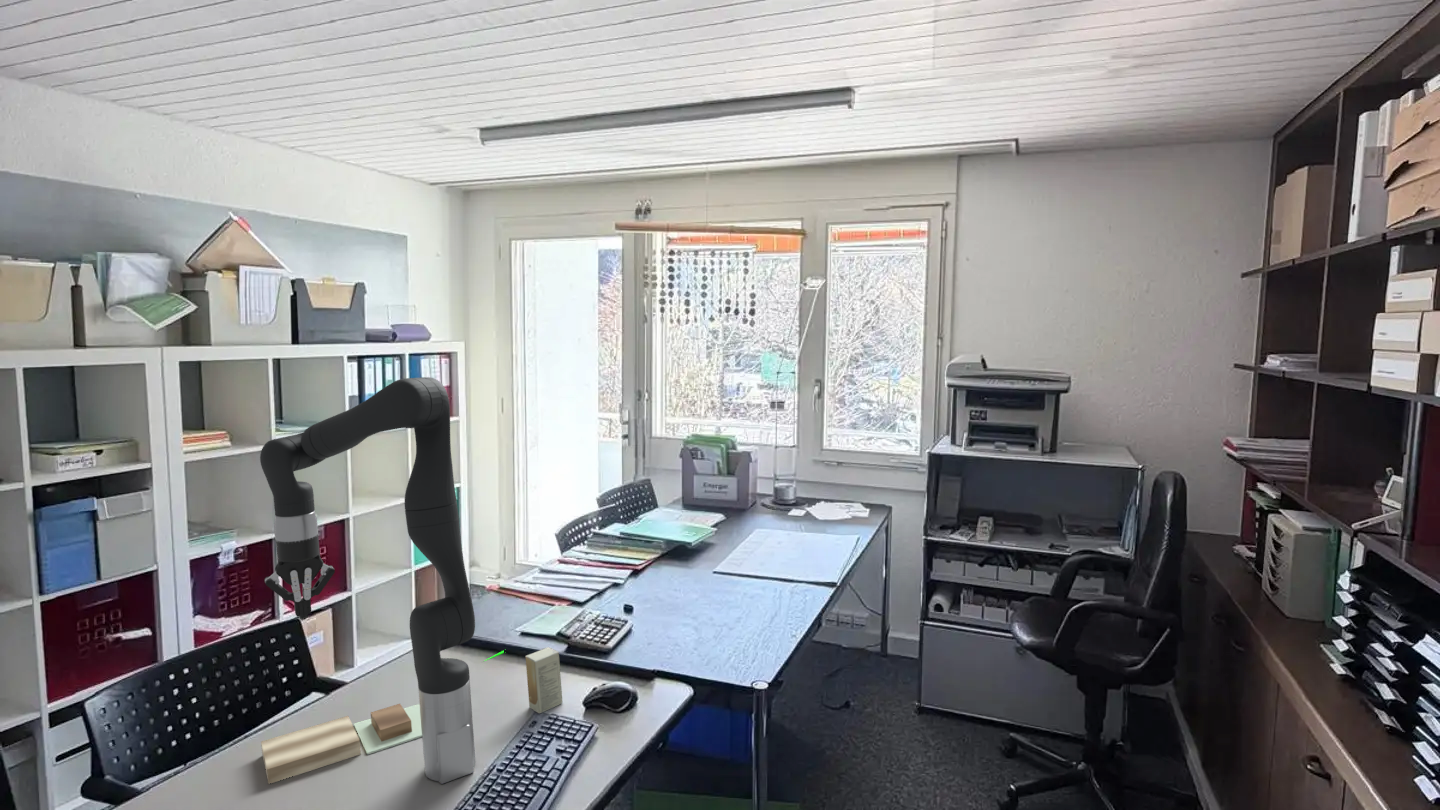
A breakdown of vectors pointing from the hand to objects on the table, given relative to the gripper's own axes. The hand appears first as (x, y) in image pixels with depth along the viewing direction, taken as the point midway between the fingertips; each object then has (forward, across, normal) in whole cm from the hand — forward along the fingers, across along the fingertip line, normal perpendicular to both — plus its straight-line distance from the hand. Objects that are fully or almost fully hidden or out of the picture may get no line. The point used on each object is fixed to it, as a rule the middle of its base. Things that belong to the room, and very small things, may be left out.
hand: (303, 616), depth 157 cm
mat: (+26, +18, -6) cm, 32 cm away
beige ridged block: (+26, -1, -7) cm, 27 cm away
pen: (+27, +45, +16) cm, 55 cm away
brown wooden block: (+25, +14, -6) cm, 29 cm away
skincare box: (+26, +44, -17) cm, 54 cm away
